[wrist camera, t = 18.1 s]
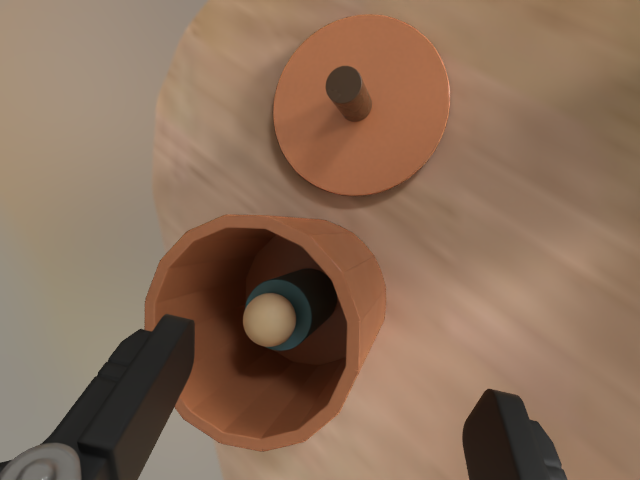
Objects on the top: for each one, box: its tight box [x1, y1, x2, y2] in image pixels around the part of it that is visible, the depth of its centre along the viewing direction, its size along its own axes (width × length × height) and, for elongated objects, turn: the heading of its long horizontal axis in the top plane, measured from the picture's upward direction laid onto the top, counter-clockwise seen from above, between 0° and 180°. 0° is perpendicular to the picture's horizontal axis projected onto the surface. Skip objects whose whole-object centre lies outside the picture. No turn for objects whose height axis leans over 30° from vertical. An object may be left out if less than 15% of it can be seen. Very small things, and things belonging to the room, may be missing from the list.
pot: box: [145, 215, 386, 452], centre depth 26 cm, size 12×12×12 cm
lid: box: [273, 14, 450, 196], centre depth 28 cm, size 14×14×6 cm
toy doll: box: [243, 268, 337, 351], centre depth 27 cm, size 5×5×10 cm
